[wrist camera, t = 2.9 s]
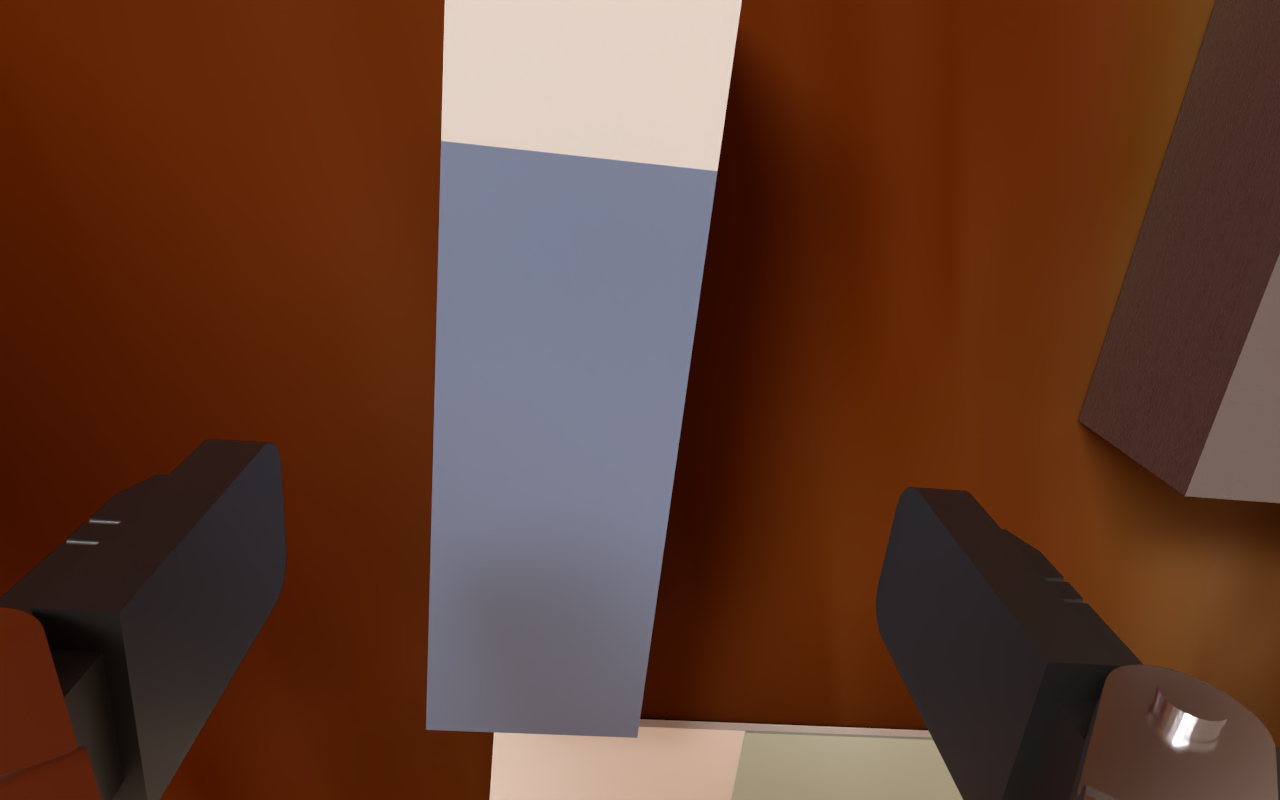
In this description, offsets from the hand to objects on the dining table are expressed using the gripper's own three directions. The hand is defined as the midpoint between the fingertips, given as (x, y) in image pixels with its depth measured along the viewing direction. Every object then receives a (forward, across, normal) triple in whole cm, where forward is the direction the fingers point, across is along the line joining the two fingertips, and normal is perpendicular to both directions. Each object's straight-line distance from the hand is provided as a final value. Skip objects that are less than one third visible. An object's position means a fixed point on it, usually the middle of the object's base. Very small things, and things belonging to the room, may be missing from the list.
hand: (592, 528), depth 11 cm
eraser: (+9, +1, 0) cm, 9 cm away
